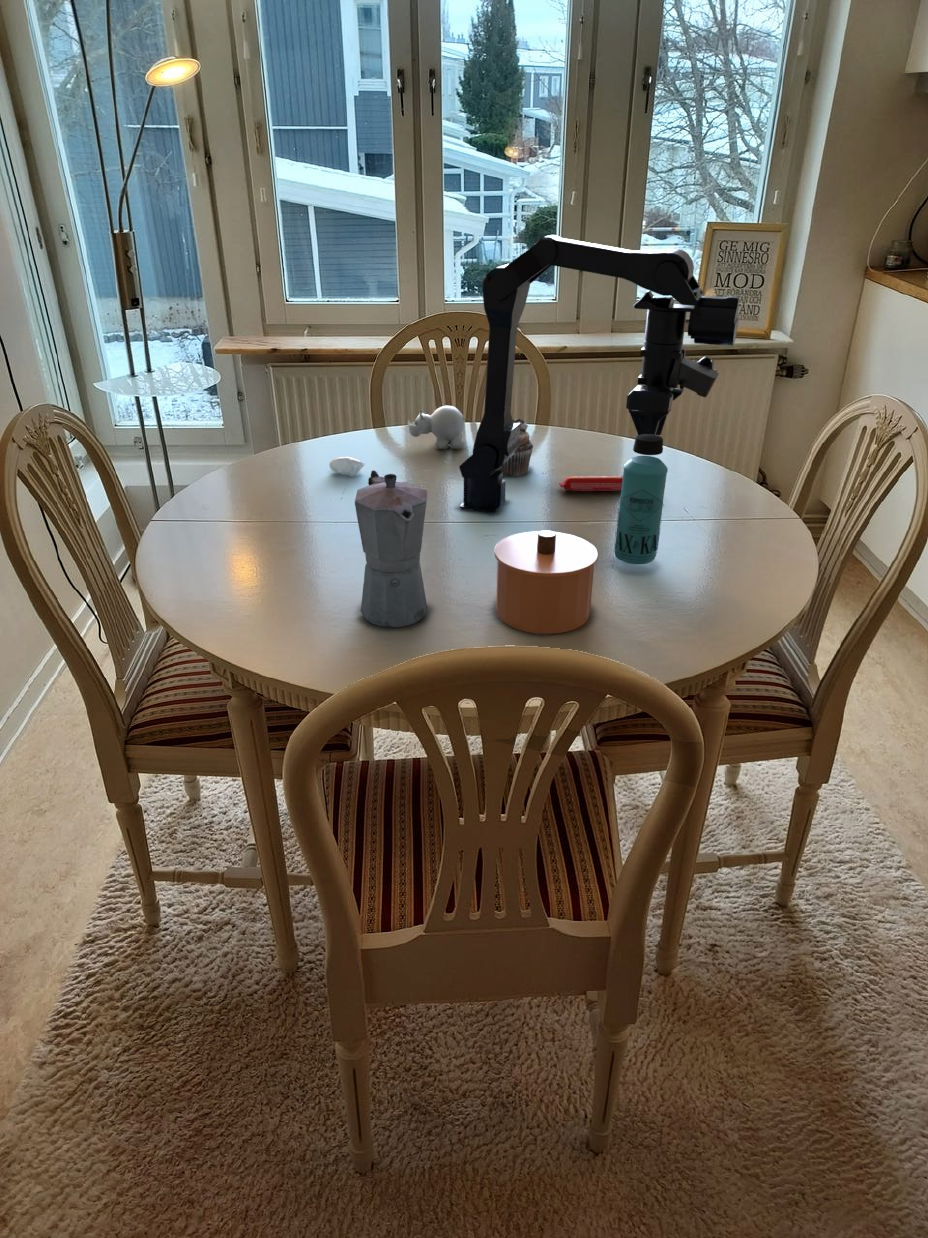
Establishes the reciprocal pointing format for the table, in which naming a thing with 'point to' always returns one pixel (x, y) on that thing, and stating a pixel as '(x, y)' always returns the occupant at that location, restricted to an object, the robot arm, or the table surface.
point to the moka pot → (392, 550)
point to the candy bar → (592, 483)
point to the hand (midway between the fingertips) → (652, 442)
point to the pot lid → (546, 553)
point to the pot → (543, 600)
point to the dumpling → (346, 465)
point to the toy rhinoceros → (440, 426)
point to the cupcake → (519, 454)
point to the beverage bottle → (641, 502)
